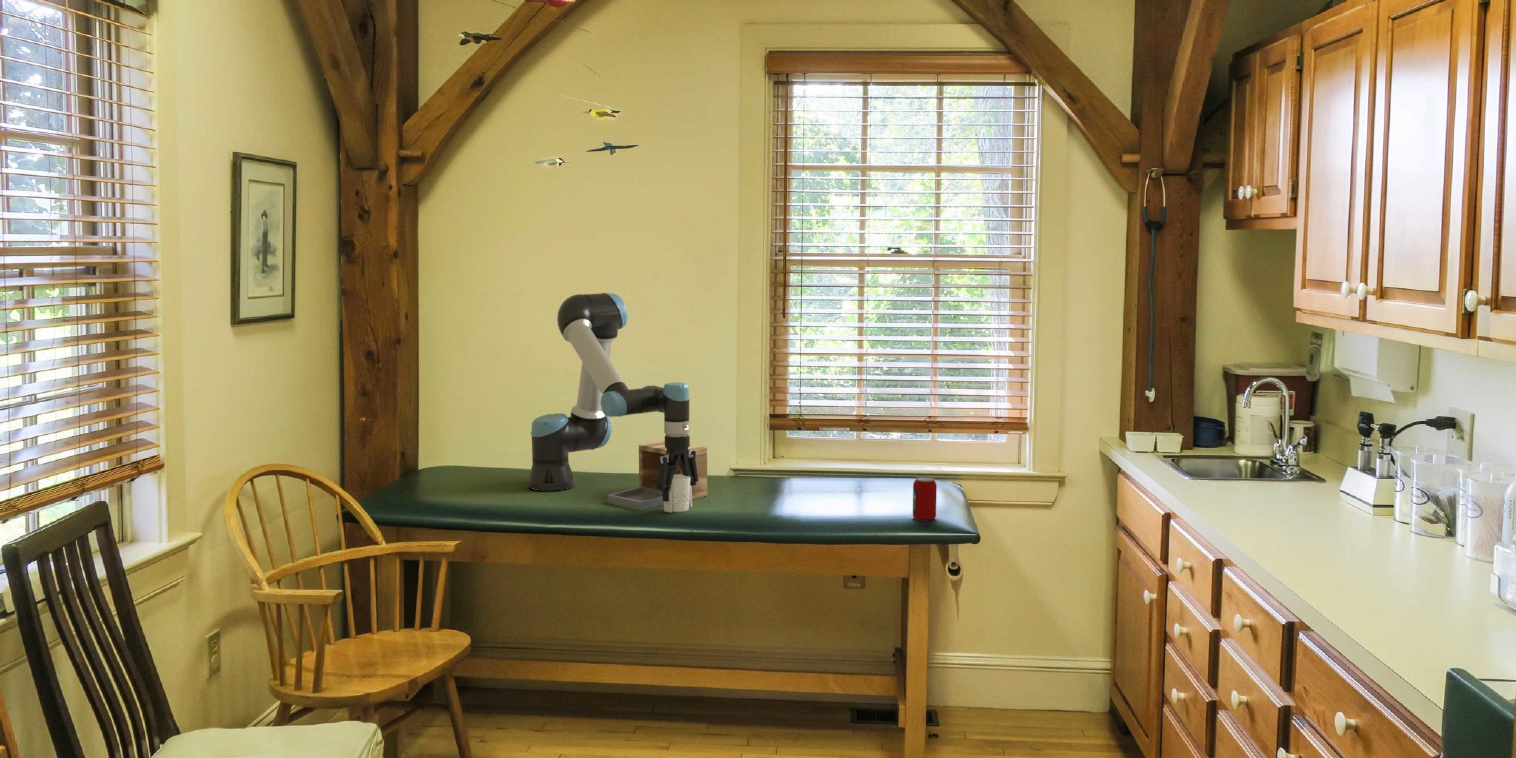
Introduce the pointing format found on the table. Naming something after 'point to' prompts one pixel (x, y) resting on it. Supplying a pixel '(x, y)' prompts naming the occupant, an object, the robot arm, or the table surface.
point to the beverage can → (924, 498)
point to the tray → (637, 498)
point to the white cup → (680, 493)
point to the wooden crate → (651, 465)
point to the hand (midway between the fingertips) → (678, 508)
